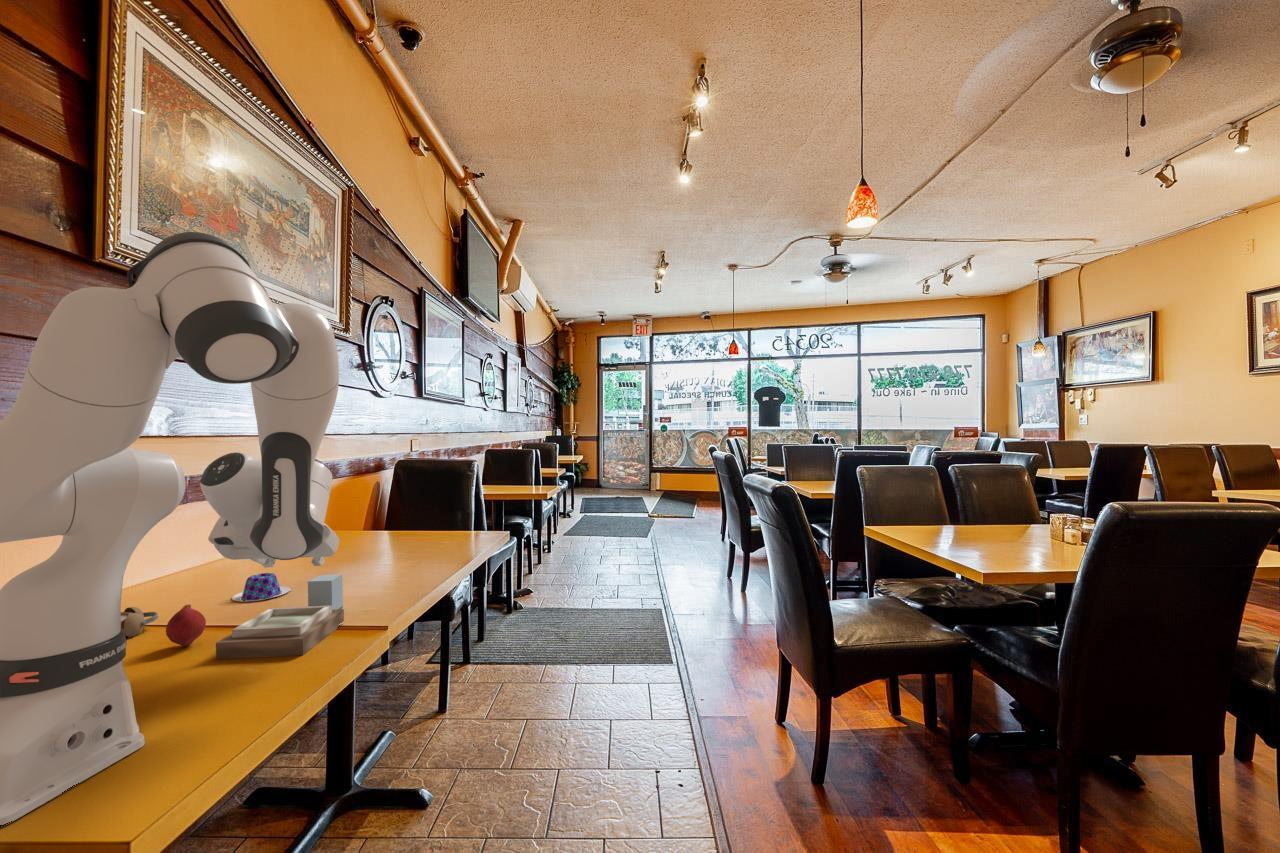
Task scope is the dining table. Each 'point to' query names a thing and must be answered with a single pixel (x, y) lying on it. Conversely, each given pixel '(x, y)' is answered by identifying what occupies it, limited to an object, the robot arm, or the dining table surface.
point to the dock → (280, 632)
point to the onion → (185, 626)
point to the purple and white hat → (261, 588)
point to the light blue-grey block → (326, 591)
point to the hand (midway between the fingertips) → (295, 563)
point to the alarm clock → (135, 620)
